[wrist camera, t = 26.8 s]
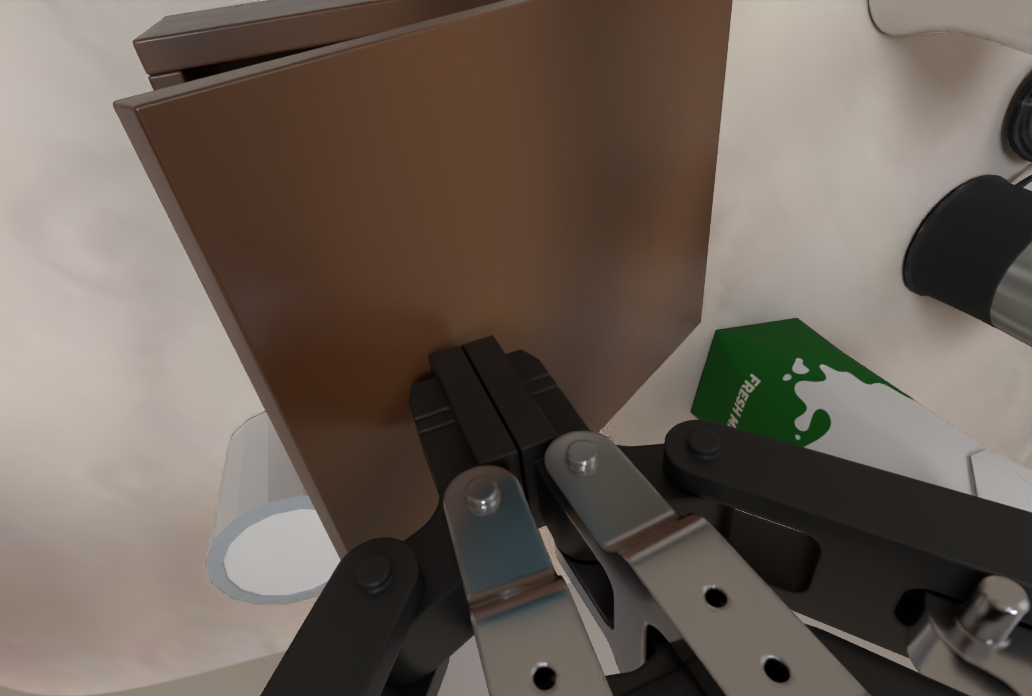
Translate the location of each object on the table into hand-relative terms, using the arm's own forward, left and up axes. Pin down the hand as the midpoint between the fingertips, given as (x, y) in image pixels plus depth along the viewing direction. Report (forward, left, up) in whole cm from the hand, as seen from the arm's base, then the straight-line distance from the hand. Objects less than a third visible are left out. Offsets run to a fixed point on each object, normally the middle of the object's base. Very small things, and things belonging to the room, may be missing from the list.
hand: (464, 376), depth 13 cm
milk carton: (+22, -19, -15) cm, 33 cm away
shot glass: (-8, -13, -15) cm, 21 cm away
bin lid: (+4, 0, -3) cm, 5 cm away
